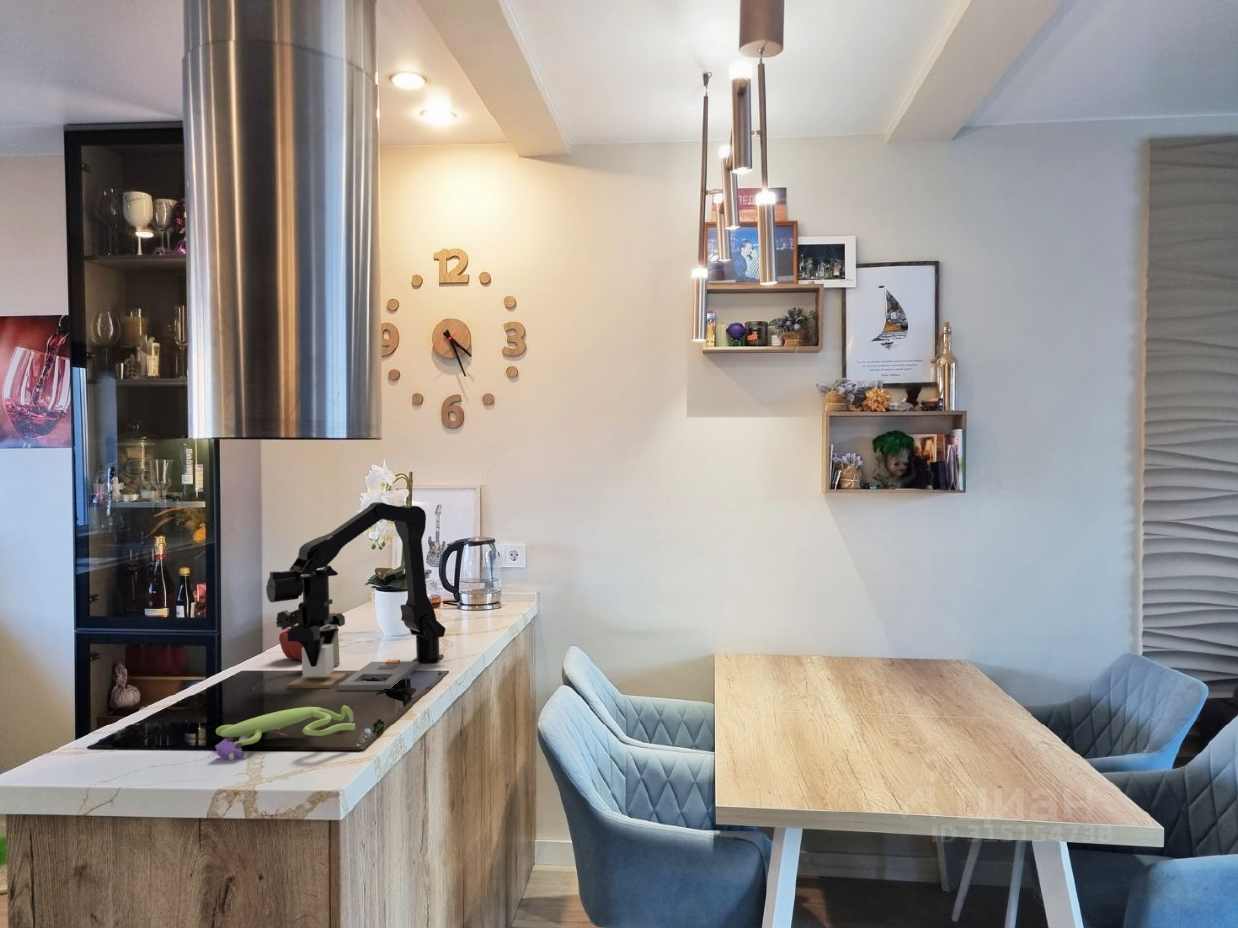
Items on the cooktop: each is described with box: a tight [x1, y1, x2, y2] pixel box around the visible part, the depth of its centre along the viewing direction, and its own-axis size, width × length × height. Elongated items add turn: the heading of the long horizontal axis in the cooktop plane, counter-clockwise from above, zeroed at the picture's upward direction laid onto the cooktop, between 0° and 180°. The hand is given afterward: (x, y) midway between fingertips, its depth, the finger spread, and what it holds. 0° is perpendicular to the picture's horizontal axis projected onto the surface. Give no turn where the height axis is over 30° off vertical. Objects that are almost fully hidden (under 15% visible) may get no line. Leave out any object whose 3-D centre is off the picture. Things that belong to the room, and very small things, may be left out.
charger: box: [301, 644, 335, 677], centre depth 189 cm, size 4×6×6 cm
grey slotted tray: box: [337, 659, 420, 691], centre depth 191 cm, size 21×12×2 cm, turn 177°
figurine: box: [214, 704, 356, 761], centre depth 148 cm, size 18×27×6 cm
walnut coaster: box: [286, 672, 349, 689], centre depth 189 cm, size 10×10×1 cm
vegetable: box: [276, 624, 303, 661], centre depth 212 cm, size 11×10×10 cm
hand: (318, 663), depth 189 cm, fingers closed on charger, 4 cm apart
